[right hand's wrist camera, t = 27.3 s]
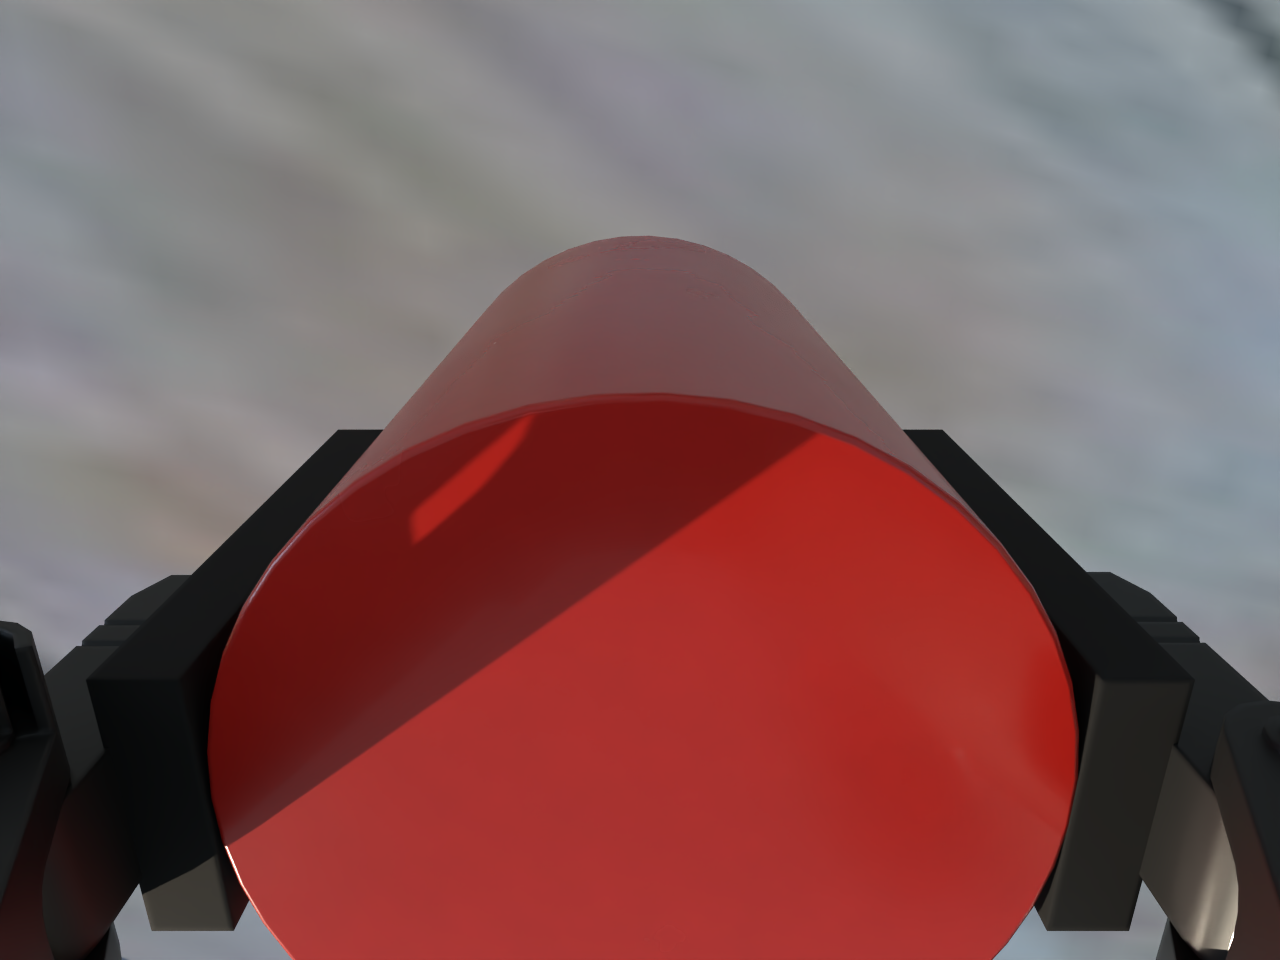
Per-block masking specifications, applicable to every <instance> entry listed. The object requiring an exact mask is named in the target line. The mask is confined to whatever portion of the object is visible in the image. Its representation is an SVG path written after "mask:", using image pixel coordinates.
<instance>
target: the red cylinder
mask: <svg viewBox="0 0 1280 960" xmlns="http://www.w3.org/2000/svg"><path fill="white" fill-rule="evenodd" d="M1078 751H1079V726H1078V719H1077V712H1076V705H1075V698H1074V691H1073V685H1072V679H1071V676H1070V673H1069V669H1068V666H1067V663H1066V660H1065V657H1064V654H1063V651H1062V648H1061V645H1060V641H1059V638H1058V635H1057V632H1056V630H1055V628H1054V626H1053V624H1052V622H1051V620H1050V618H1049V617H1048V615H1047V613H1046V611H1045V609H1044V607H1043V605H1042V603H1041V601H1040V599H1039V597H1038V595H1037V593H1036V591H1035V589H1034V587H1033V586H1032V584H1031V583H1030V582H1029V580H1028V579H1027V577H1026V576H1025V575H1024V573H1023V572H1022V571H1021V569H1020V568H1019V567H1018V565H1017V564H1016V562H1015V561H1014V560H1013V558H1012V557H1011V556H1010V554H1009V553H1008V552H1007V550H1006V549H1005V548H1004V546H1003V545H1002V543H1001V542H1000V541H999V540H998V539H997V538H996V536H995V535H994V534H993V533H992V532H991V531H990V530H989V528H988V527H987V526H986V525H985V524H984V523H983V522H982V520H981V519H980V518H979V517H978V516H977V515H976V514H975V512H974V511H973V510H972V509H971V508H970V507H969V506H968V504H967V503H966V502H965V501H964V500H963V499H962V498H961V496H960V495H959V494H958V493H957V492H956V491H955V490H954V488H953V487H952V486H951V485H950V484H949V483H948V482H947V480H946V479H945V478H944V477H943V476H942V475H941V474H940V472H939V471H938V470H937V469H936V468H935V467H934V466H933V464H932V463H931V462H930V461H929V460H928V459H927V458H926V456H925V455H924V454H923V453H922V452H921V451H920V450H919V448H918V447H917V446H916V445H915V444H914V443H913V441H912V440H911V439H910V438H909V437H908V436H907V435H906V433H905V432H904V431H903V430H902V429H901V428H900V427H899V425H898V424H897V423H896V422H895V421H894V420H893V419H892V417H891V416H890V415H889V414H888V413H887V412H886V411H885V409H884V408H883V407H882V406H881V405H880V404H879V403H878V401H877V400H876V399H875V398H874V397H873V396H872V395H871V393H870V392H869V391H868V390H867V389H866V388H865V387H864V385H863V384H862V383H861V382H860V381H859V380H858V379H857V377H856V376H855V375H854V374H853V373H852V372H851V371H850V369H849V368H848V367H847V366H846V365H845V364H844V363H843V361H842V360H841V359H840V358H839V357H838V356H837V355H836V353H835V352H834V351H833V350H832V349H831V348H830V347H829V345H828V344H827V343H826V342H825V341H824V340H823V339H822V337H821V336H820V335H819V334H818V333H817V332H816V331H815V329H814V328H813V327H812V326H811V325H810V324H809V323H808V321H807V320H806V319H805V318H804V317H803V316H802V315H801V313H800V312H799V311H798V310H797V309H796V308H795V307H794V305H793V304H792V303H791V302H790V301H789V300H788V299H787V298H786V297H785V296H784V295H783V294H782V293H781V292H780V291H779V290H778V289H777V288H776V287H775V286H774V285H773V284H772V283H770V282H769V281H768V280H766V279H765V278H764V277H762V276H761V275H760V274H758V273H757V272H756V271H755V270H753V269H752V268H750V267H748V266H747V265H745V264H743V263H741V262H740V261H738V260H736V259H734V258H732V257H731V256H729V255H726V254H724V253H721V252H719V251H716V250H714V249H711V248H709V247H706V246H704V245H700V244H696V243H692V242H688V241H684V240H680V239H674V238H665V237H655V236H629V237H617V238H611V239H605V240H599V241H594V242H591V243H587V244H584V245H581V246H578V247H574V248H571V249H568V250H566V251H564V252H562V253H560V254H558V255H555V256H553V257H551V258H549V259H547V260H545V261H543V262H541V263H540V264H538V265H537V266H535V267H534V268H532V269H531V270H529V271H528V272H526V273H524V274H523V275H521V276H520V277H519V278H518V279H517V280H516V281H514V282H513V283H512V284H511V285H510V286H509V287H507V288H506V289H505V290H504V291H503V292H502V293H501V294H500V295H499V296H498V297H497V298H496V300H495V301H494V302H493V303H492V304H491V305H490V306H489V307H488V309H487V310H486V311H485V312H484V313H483V314H482V316H481V317H480V318H479V319H478V320H477V321H476V323H475V324H474V325H473V326H472V327H471V328H470V330H469V331H468V332H467V333H466V334H465V335H464V337H463V338H462V339H461V340H460V341H459V342H458V344H457V345H456V346H455V347H454V348H453V349H452V351H451V352H450V353H449V354H448V355H447V356H446V358H445V359H444V360H443V361H442V362H441V363H440V365H439V366H438V367H437V368H436V369H435V370H434V372H433V373H432V374H431V375H430V376H429V377H428V379H427V380H426V381H425V382H424V383H423V384H422V386H421V387H420V388H419V389H418V390H417V391H416V393H415V394H414V395H413V396H412V397H411V398H410V400H409V401H408V402H407V403H406V404H405V405H404V407H403V408H402V409H401V410H400V411H399V412H398V414H397V415H396V416H395V417H394V418H393V419H392V421H391V422H390V423H389V424H388V425H387V426H386V428H385V429H384V430H383V431H382V432H381V433H380V435H379V436H378V437H377V438H376V439H375V440H374V442H373V443H372V444H371V445H370V446H369V447H368V449H367V450H366V451H365V452H364V453H363V454H362V456H361V457H360V458H359V459H358V460H357V461H356V463H355V464H354V465H353V466H352V467H351V468H350V470H349V471H348V472H347V473H346V474H345V475H344V477H343V478H342V479H341V480H340V481H339V482H338V484H337V485H336V486H335V487H334V488H333V490H332V491H331V492H330V493H329V494H328V495H327V497H326V498H325V499H324V500H323V501H322V502H321V504H320V505H319V506H318V507H317V508H316V509H315V511H314V512H313V513H312V514H311V515H310V516H309V518H308V519H307V520H306V521H305V522H304V523H303V525H302V526H301V527H300V528H299V529H298V530H297V532H296V533H295V534H294V535H293V536H292V537H291V539H290V540H289V541H288V542H287V543H286V544H285V546H284V547H283V548H282V549H281V550H280V551H279V553H278V554H277V555H276V556H275V557H274V558H273V560H272V561H271V562H270V564H269V565H268V567H267V569H266V570H265V572H264V573H263V575H262V576H261V578H260V580H259V581H258V583H257V584H256V586H255V587H254V589H253V591H252V592H251V594H250V595H249V597H248V598H247V600H246V601H245V603H244V605H243V606H242V609H241V611H240V613H239V616H238V618H237V620H236V623H235V625H234V627H233V630H232V632H231V634H230V637H229V639H228V641H227V644H226V646H225V648H224V651H223V653H222V657H221V661H220V665H219V669H218V673H217V677H216V681H215V686H214V690H213V694H212V698H211V705H210V718H209V732H208V745H207V756H208V767H209V778H210V790H211V799H212V803H213V807H214V811H215V815H216V819H217V823H218V827H219V831H220V835H221V839H222V842H223V845H224V847H225V850H226V852H227V854H228V857H229V859H230V861H231V864H232V866H233V869H234V871H235V873H236V876H237V878H238V881H239V883H240V885H241V887H242V888H243V890H244V892H245V893H246V895H247V897H248V898H249V900H250V902H251V903H252V905H253V907H254V908H255V910H256V912H257V913H258V915H259V917H260V918H261V920H262V922H263V923H264V924H265V926H266V927H267V928H268V929H269V931H270V932H271V933H272V934H273V936H274V937H275V938H276V939H277V941H278V942H279V943H280V944H281V946H282V947H283V948H284V949H285V951H286V952H287V953H288V954H289V956H290V957H291V958H292V959H293V960H992V959H993V958H994V957H995V956H996V955H997V954H998V953H999V952H1000V951H1001V950H1002V949H1003V948H1004V946H1005V945H1006V944H1007V943H1008V942H1009V940H1010V939H1011V937H1012V936H1013V935H1014V933H1015V932H1016V930H1017V929H1018V928H1019V926H1020V925H1021V923H1022V922H1023V921H1024V919H1025V918H1026V916H1027V915H1028V914H1029V912H1030V911H1031V909H1032V908H1033V907H1034V905H1035V903H1036V901H1037V899H1038V897H1039V895H1040V893H1041V891H1042V889H1043V887H1044V886H1045V884H1046V882H1047V880H1048V878H1049V876H1050V874H1051V872H1052V870H1053V868H1054V866H1055V864H1056V861H1057V858H1058V855H1059V852H1060V849H1061V847H1062V844H1063V841H1064V838H1065V835H1066V832H1067V828H1068V825H1069V820H1070V815H1071V810H1072V806H1073V801H1074V796H1075V791H1076V786H1077V780H1078Z"/></svg>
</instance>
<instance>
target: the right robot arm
mask: <svg viewBox="0 0 1280 960" xmlns="http://www.w3.org/2000/svg"><path fill="white" fill-rule="evenodd" d="M382 431H383V430H337V431H336V432H335V433H334V434H333V435H332V436H331V437H330V438H329V439H328V440H327V441H326V442H325V443H324V444H323V445H322V446H321V447H320V448H319V449H318V450H317V451H316V452H315V453H314V454H313V455H312V456H311V457H310V458H309V459H308V460H307V461H306V462H305V463H304V464H303V465H302V466H301V467H300V468H299V469H298V470H297V471H296V472H295V473H294V474H293V475H292V476H291V477H290V478H289V479H288V480H287V481H286V482H285V483H284V484H283V485H282V486H281V487H280V488H279V489H278V490H277V491H276V492H275V493H274V494H273V495H272V496H271V497H270V498H269V499H268V500H267V501H266V502H265V503H264V504H263V505H262V506H261V507H260V508H259V509H258V510H257V511H256V512H255V513H254V514H253V515H252V516H251V517H250V518H249V519H248V520H247V521H246V522H245V523H244V524H242V525H241V526H240V527H239V528H238V529H237V530H236V531H235V532H234V533H233V534H232V535H231V536H230V537H229V538H228V539H227V540H226V541H225V542H224V543H223V544H222V545H221V546H220V547H219V548H218V549H217V550H216V551H215V552H214V553H213V554H212V555H211V556H210V557H209V558H208V559H207V560H206V561H205V562H204V563H203V564H202V565H201V566H200V567H199V568H198V569H197V570H196V571H195V572H194V573H193V574H192V575H171V576H169V577H167V578H165V579H163V580H161V581H159V582H157V583H155V584H153V585H151V586H150V587H148V588H146V589H144V590H142V591H140V592H138V593H136V594H134V595H132V596H131V597H130V598H129V599H127V600H126V601H125V602H124V603H123V604H122V605H121V606H120V607H119V608H118V609H117V610H115V611H114V612H113V613H112V614H111V615H110V616H109V617H108V618H107V619H106V620H105V624H104V625H99V626H98V627H97V628H96V629H95V630H94V631H92V632H91V633H90V634H89V635H88V636H87V637H86V638H85V639H84V640H83V641H82V646H76V647H75V648H74V649H73V650H72V651H71V652H69V653H68V654H67V655H66V656H65V657H64V658H63V659H62V660H61V661H60V662H59V663H57V664H56V665H55V666H54V667H53V668H52V669H51V670H50V671H49V672H48V673H47V674H45V675H44V674H43V670H42V667H41V663H40V660H39V656H38V653H37V649H36V646H35V642H34V639H33V635H32V632H31V631H30V630H28V629H26V628H25V627H23V626H21V625H20V624H18V623H14V622H6V621H0V960H122V958H121V951H120V944H119V940H118V936H117V932H116V929H115V925H114V922H113V921H114V920H115V918H116V917H117V915H118V914H119V912H120V911H121V909H122V908H123V906H124V905H125V903H126V902H127V900H128V899H129V897H130V896H131V894H132V893H133V891H134V890H135V888H136V887H137V885H138V884H140V888H141V892H142V896H143V900H144V903H145V907H146V911H147V915H148V919H149V922H150V926H151V930H152V931H234V929H235V927H236V925H237V923H238V921H239V919H240V917H241V915H242V913H243V911H244V909H245V907H246V906H247V904H248V902H249V898H248V897H247V895H246V893H245V892H244V890H243V888H242V887H241V885H240V883H239V881H238V878H237V876H236V873H235V871H234V869H233V866H232V864H231V861H230V859H229V857H228V854H227V852H226V850H225V847H224V845H223V842H222V839H221V835H220V831H219V827H218V823H217V819H216V815H215V811H214V807H213V803H212V799H211V790H210V778H209V767H208V756H207V745H208V732H209V718H210V705H211V698H212V694H213V690H214V686H215V681H216V677H217V673H218V669H219V665H220V661H221V657H222V653H223V651H224V648H225V646H226V644H227V641H228V639H229V637H230V634H231V632H232V630H233V627H234V625H235V623H236V620H237V618H238V616H239V613H240V611H241V609H242V606H243V605H244V603H245V601H246V600H247V598H248V597H249V595H250V594H251V592H252V591H253V589H254V587H255V586H256V584H257V583H258V581H259V580H260V578H261V576H262V575H263V573H264V572H265V570H266V569H267V567H268V565H269V564H270V562H271V561H272V560H273V558H274V557H275V556H276V555H277V554H278V553H279V551H280V550H281V549H282V548H283V547H284V546H285V544H286V543H287V542H288V541H289V540H290V539H291V537H292V536H293V535H294V534H295V533H296V532H297V530H298V529H299V528H300V527H301V526H302V525H303V523H304V522H305V521H306V520H307V519H308V518H309V516H310V515H311V514H312V513H313V512H314V511H315V509H316V508H317V507H318V506H319V505H320V504H321V502H322V501H323V500H324V499H325V498H326V497H327V495H328V494H329V493H330V492H331V491H332V490H333V488H334V487H335V486H336V485H337V484H338V482H339V481H340V480H341V479H342V478H343V477H344V475H345V474H346V473H347V472H348V471H349V470H350V468H351V467H352V466H353V465H354V464H355V463H356V461H357V460H358V459H359V458H360V457H361V456H362V454H363V453H364V452H365V451H366V450H367V449H368V447H369V446H370V445H371V444H372V443H373V442H374V440H375V439H376V438H377V437H378V436H379V435H380V433H381V432H382ZM903 431H904V432H905V433H906V435H907V436H908V437H909V438H910V439H911V440H912V441H913V443H914V444H915V445H916V446H917V447H918V448H919V450H920V451H921V452H922V453H923V454H924V455H925V456H926V458H927V459H928V460H929V461H930V462H931V463H932V464H933V466H934V467H935V468H936V469H937V470H938V471H939V472H940V474H941V475H942V476H943V477H944V478H945V479H946V480H947V482H948V483H949V484H950V485H951V486H952V487H953V488H954V490H955V491H956V492H957V493H958V494H959V495H960V496H961V498H962V499H963V500H964V501H965V502H966V503H967V504H968V506H969V507H970V508H971V509H972V510H973V511H974V512H975V514H976V515H977V516H978V517H979V518H980V519H981V520H982V522H983V523H984V524H985V525H986V526H987V527H988V528H989V530H990V531H991V532H992V533H993V534H994V535H995V536H996V538H997V539H998V540H999V541H1000V542H1001V543H1002V545H1003V546H1004V548H1005V549H1006V550H1007V552H1008V553H1009V554H1010V556H1011V557H1012V558H1013V560H1014V561H1015V562H1016V564H1017V565H1018V567H1019V568H1020V569H1021V571H1022V572H1023V573H1024V575H1025V576H1026V577H1027V579H1028V580H1029V582H1030V583H1031V584H1032V586H1033V587H1034V589H1035V591H1036V593H1037V595H1038V597H1039V599H1040V601H1041V603H1042V605H1043V607H1044V609H1045V611H1046V613H1047V615H1048V617H1049V618H1050V620H1051V622H1052V624H1053V626H1054V628H1055V630H1056V632H1057V635H1058V638H1059V641H1060V645H1061V648H1062V651H1063V654H1064V657H1065V660H1066V663H1067V666H1068V669H1069V673H1070V676H1071V679H1072V685H1073V691H1074V698H1075V705H1076V712H1077V719H1078V726H1079V751H1078V780H1077V786H1076V791H1075V796H1074V801H1073V806H1072V810H1071V815H1070V820H1069V825H1068V828H1067V832H1066V835H1065V838H1064V841H1063V844H1062V847H1061V849H1060V852H1059V855H1058V858H1057V861H1056V864H1055V866H1054V868H1053V870H1052V872H1051V874H1050V876H1049V878H1048V880H1047V882H1046V884H1045V886H1044V887H1043V889H1042V891H1041V893H1040V895H1039V897H1038V899H1037V901H1036V903H1035V905H1034V906H1035V908H1036V910H1037V912H1038V914H1039V916H1040V918H1041V920H1042V922H1043V924H1044V926H1045V928H1046V930H1047V931H1129V929H1130V925H1131V921H1132V917H1133V914H1134V910H1135V906H1136V902H1137V898H1138V895H1139V891H1140V887H1141V883H1142V880H1143V881H1144V882H1145V884H1146V885H1147V887H1148V888H1149V890H1150V891H1151V893H1152V894H1153V896H1154V897H1155V899H1156V900H1157V902H1158V903H1159V905H1160V906H1161V908H1162V909H1163V911H1164V912H1165V914H1166V915H1167V917H1168V918H1167V922H1166V925H1165V929H1164V932H1163V936H1162V940H1161V943H1160V947H1159V950H1158V954H1157V957H1156V960H1280V702H1276V701H1269V700H1268V699H1267V698H1266V697H1265V696H1263V695H1262V694H1261V693H1260V692H1259V691H1258V690H1257V689H1256V688H1255V687H1254V686H1252V685H1251V684H1250V683H1249V682H1248V681H1247V680H1246V679H1245V678H1244V677H1242V676H1241V675H1240V674H1239V673H1238V672H1237V671H1236V670H1235V669H1234V668H1233V667H1231V666H1230V665H1229V664H1228V663H1227V662H1226V661H1225V660H1224V659H1223V658H1222V657H1220V656H1219V655H1218V654H1217V653H1216V652H1215V651H1214V650H1213V649H1212V648H1210V647H1209V646H1208V645H1207V644H1206V643H1200V641H1199V637H1198V636H1197V635H1196V634H1195V633H1194V632H1193V631H1192V630H1191V629H1189V628H1188V627H1187V626H1186V625H1185V624H1184V623H1183V622H1177V617H1176V616H1175V615H1174V614H1173V613H1172V612H1171V611H1170V610H1169V609H1167V608H1166V607H1165V606H1164V605H1163V604H1162V603H1161V602H1160V601H1159V600H1157V599H1156V598H1155V597H1154V596H1153V595H1152V594H1151V593H1149V592H1148V591H1146V590H1144V589H1142V588H1140V587H1138V586H1136V585H1134V584H1132V583H1130V582H1128V581H1126V580H1124V579H1122V578H1120V577H1118V576H1117V575H1115V574H1113V573H1111V572H1086V571H1085V570H1084V569H1083V568H1082V567H1081V566H1080V565H1079V564H1078V563H1077V562H1076V561H1075V560H1074V559H1073V558H1072V557H1071V556H1070V555H1069V554H1068V553H1066V552H1065V551H1064V550H1063V549H1062V548H1061V547H1060V546H1059V545H1058V544H1057V543H1056V542H1055V541H1054V540H1053V539H1052V538H1051V537H1050V536H1049V535H1048V534H1047V533H1046V532H1045V531H1044V530H1043V529H1042V528H1041V527H1040V526H1039V525H1038V524H1037V523H1036V522H1035V521H1034V520H1033V519H1032V518H1031V517H1030V516H1029V515H1028V514H1027V513H1026V512H1025V511H1024V510H1023V509H1022V508H1021V507H1020V506H1019V505H1018V504H1017V503H1016V502H1015V501H1014V500H1013V499H1012V498H1011V497H1010V496H1009V495H1008V494H1007V493H1006V492H1005V491H1004V490H1003V489H1002V488H1001V487H1000V486H999V485H998V484H997V483H996V482H995V481H994V480H993V479H992V478H991V477H990V476H989V475H988V474H987V473H986V472H985V471H984V470H983V469H982V468H981V467H980V466H979V465H978V464H977V463H976V462H974V461H973V460H972V459H971V458H970V457H969V456H968V455H967V454H966V453H965V452H964V451H963V450H962V449H961V448H960V447H959V446H958V445H957V444H956V443H955V442H954V441H953V440H952V439H951V438H950V437H949V436H948V435H947V434H946V433H945V432H944V431H943V430H903Z"/></svg>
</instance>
